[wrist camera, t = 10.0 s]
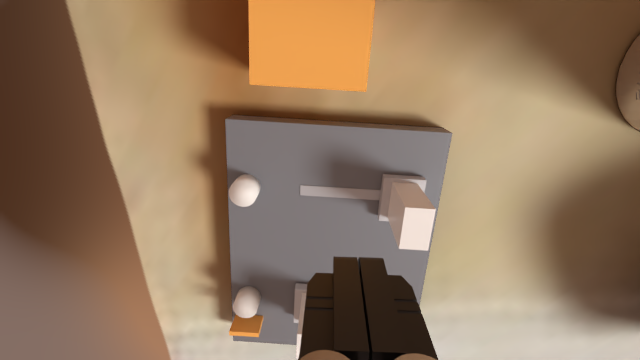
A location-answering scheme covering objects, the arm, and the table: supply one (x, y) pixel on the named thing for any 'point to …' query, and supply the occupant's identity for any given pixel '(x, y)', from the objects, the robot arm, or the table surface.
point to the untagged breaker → (407, 210)
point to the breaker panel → (315, 208)
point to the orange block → (310, 43)
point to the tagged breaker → (299, 311)
